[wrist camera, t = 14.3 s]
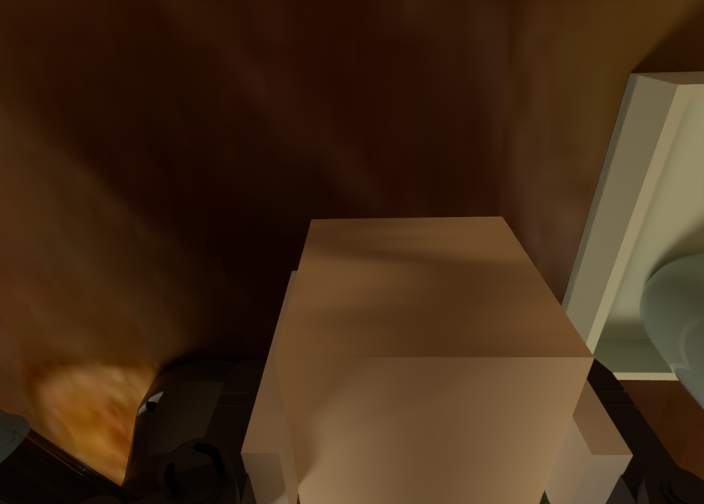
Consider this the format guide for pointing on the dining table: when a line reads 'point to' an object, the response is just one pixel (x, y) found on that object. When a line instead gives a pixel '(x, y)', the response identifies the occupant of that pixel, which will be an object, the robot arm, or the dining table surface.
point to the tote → (640, 219)
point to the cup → (678, 319)
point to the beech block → (425, 364)
